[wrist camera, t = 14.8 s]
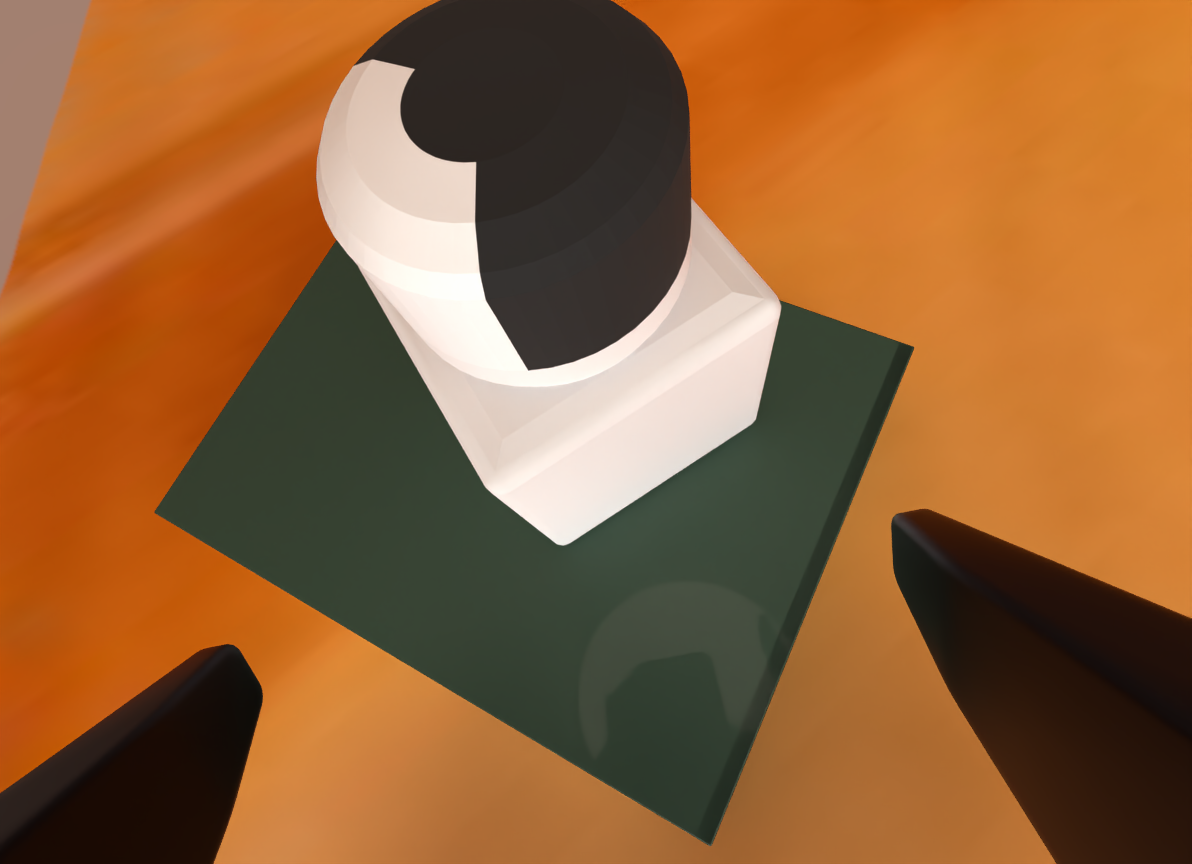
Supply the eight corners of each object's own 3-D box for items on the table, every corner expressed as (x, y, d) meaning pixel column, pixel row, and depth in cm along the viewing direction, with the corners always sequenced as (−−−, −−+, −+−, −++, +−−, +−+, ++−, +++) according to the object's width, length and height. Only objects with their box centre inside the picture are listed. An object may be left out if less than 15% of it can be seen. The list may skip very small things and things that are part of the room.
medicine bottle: (632, 258, 22) (562, -143, 11) (760, 421, 20) (839, 115, 9) (452, 372, 22) (194, 74, 11) (561, 552, 20) (371, 410, 8)
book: (888, 385, 23) (915, 346, 20) (709, 820, 19) (711, 847, 17) (418, 212, 28) (386, 163, 25) (215, 528, 25) (153, 512, 22)
